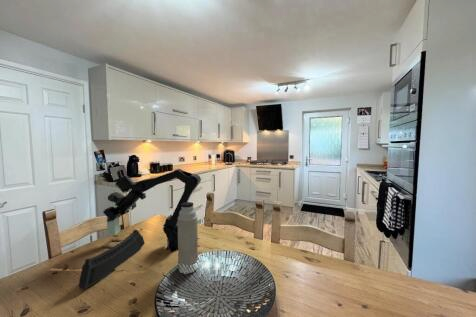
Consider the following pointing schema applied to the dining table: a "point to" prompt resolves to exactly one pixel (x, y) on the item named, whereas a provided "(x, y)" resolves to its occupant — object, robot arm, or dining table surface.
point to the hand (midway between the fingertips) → (110, 219)
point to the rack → (110, 242)
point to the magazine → (109, 260)
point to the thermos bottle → (187, 235)
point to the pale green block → (113, 227)
